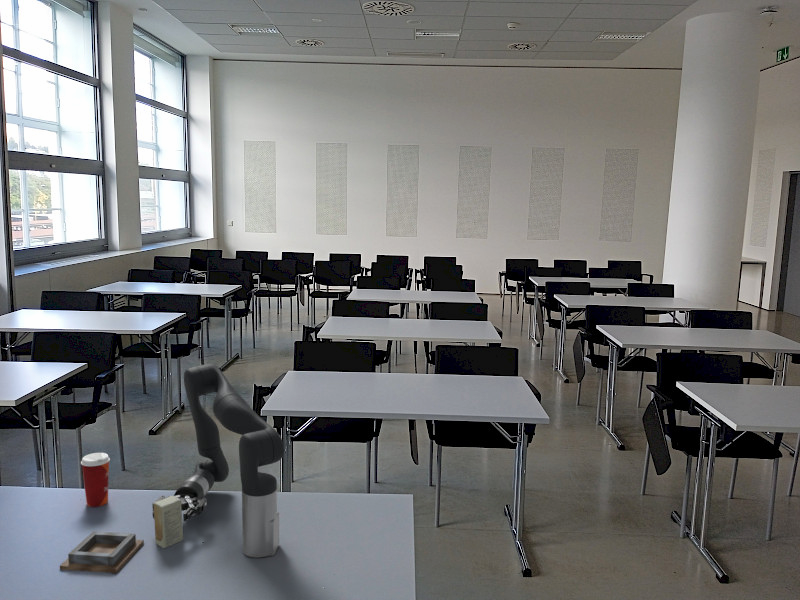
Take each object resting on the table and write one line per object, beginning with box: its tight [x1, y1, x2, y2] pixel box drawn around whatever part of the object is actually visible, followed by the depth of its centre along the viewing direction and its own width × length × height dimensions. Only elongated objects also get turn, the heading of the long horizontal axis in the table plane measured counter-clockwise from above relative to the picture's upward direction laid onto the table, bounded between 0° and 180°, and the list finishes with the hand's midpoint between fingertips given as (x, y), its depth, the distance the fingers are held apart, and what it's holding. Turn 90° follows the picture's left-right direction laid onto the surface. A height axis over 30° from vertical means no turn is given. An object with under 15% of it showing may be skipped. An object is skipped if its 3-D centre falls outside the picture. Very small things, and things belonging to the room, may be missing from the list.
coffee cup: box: [80, 452, 111, 508], centre depth 206 cm, size 8×8×15 cm
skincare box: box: [153, 494, 184, 549], centre depth 184 cm, size 6×4×12 cm
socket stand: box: [59, 530, 145, 574], centre depth 176 cm, size 15×15×4 cm
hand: (169, 516), depth 184 cm, fingers open, 8 cm apart
